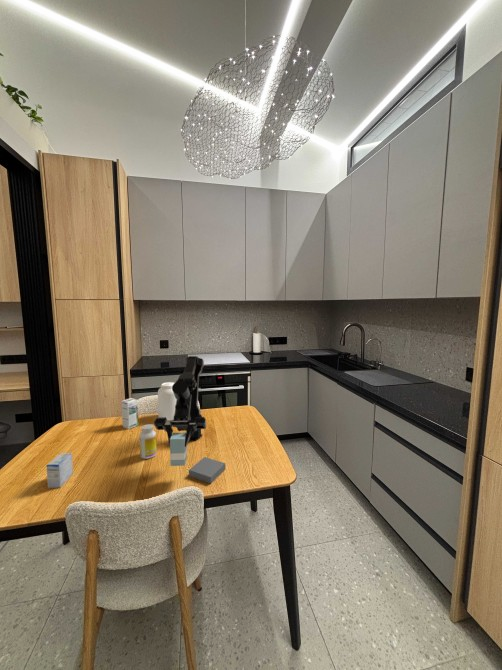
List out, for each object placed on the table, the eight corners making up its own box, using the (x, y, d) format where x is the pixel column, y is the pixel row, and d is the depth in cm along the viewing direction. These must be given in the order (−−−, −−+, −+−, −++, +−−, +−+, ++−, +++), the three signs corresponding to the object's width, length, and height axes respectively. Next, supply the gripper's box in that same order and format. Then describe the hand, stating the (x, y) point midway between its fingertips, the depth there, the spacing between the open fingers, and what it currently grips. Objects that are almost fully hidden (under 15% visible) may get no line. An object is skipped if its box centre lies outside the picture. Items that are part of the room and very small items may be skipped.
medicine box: (61, 474, 103) (59, 452, 102) (73, 474, 103) (72, 452, 103) (47, 488, 95) (45, 464, 94) (60, 487, 96) (59, 464, 95)
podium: (188, 476, 103) (188, 469, 102) (204, 462, 112) (204, 457, 111) (211, 483, 98) (211, 477, 98) (225, 469, 107) (225, 463, 107)
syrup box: (128, 429, 142) (127, 402, 140) (122, 426, 145) (121, 400, 143) (138, 425, 147) (137, 399, 145) (131, 423, 150) (130, 397, 148)
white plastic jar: (154, 420, 153) (153, 385, 151) (164, 412, 166) (163, 380, 164) (175, 422, 151) (174, 387, 149) (184, 413, 164) (183, 381, 162)
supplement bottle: (159, 452, 119) (159, 424, 118) (149, 460, 113) (148, 431, 112) (147, 450, 121) (146, 422, 120) (136, 457, 115) (135, 428, 114)
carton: (173, 458, 102) (172, 432, 101) (187, 457, 103) (186, 432, 102) (170, 466, 97) (169, 439, 96) (184, 465, 98) (184, 439, 97)
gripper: (208, 413, 115) (205, 452, 105) (163, 414, 114) (156, 453, 104) (206, 402, 106) (203, 443, 96) (157, 402, 105) (149, 444, 95)
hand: (177, 446), depth 98 cm, fingers closed on carton, 5 cm apart
